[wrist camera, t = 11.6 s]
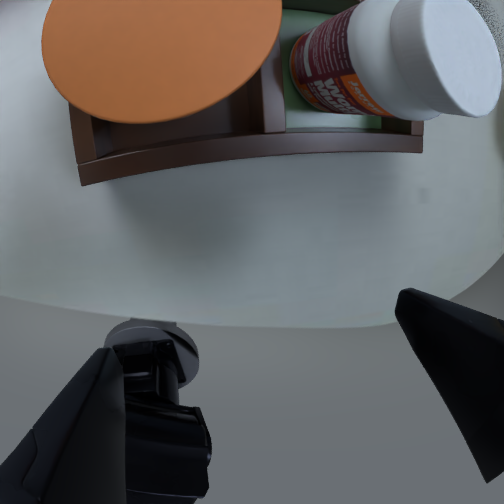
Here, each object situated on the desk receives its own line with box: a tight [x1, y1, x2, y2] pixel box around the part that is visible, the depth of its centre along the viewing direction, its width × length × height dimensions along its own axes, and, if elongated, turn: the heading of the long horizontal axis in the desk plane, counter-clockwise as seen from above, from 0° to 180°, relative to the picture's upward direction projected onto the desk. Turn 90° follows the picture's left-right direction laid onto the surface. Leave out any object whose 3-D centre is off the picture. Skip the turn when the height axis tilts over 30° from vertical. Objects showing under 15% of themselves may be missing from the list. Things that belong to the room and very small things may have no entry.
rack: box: [69, 0, 424, 186], centre depth 14 cm, size 11×21×4 cm, turn 94°
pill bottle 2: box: [289, 0, 502, 121], centre depth 11 cm, size 6×6×11 cm
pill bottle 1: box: [41, 0, 282, 124], centre depth 9 cm, size 6×6×11 cm
